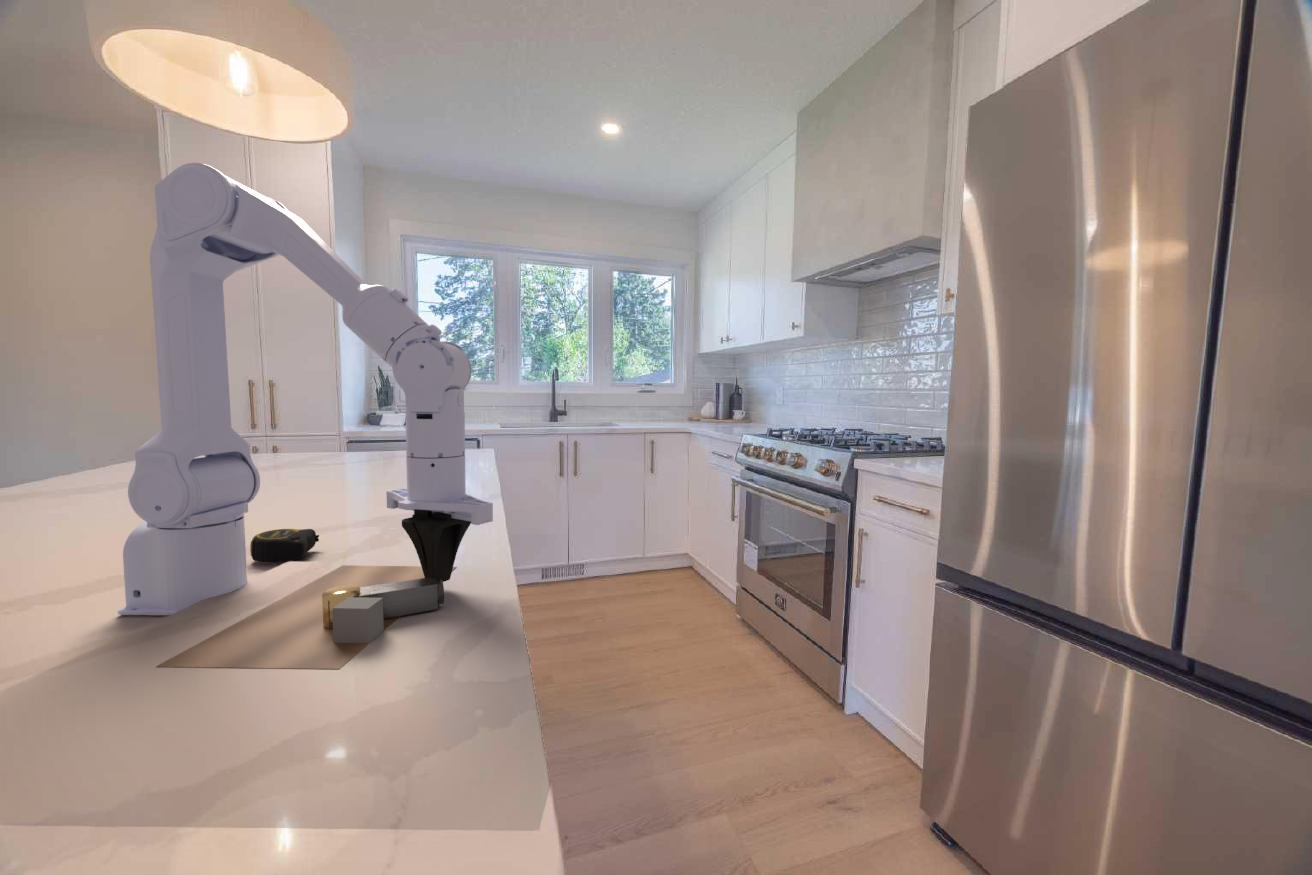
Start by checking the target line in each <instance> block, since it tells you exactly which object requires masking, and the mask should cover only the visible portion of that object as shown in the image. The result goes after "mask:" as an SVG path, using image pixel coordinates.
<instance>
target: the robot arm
mask: <svg viewBox="0 0 1312 875" xmlns="http://www.w3.org/2000/svg"><path fill="white" fill-rule="evenodd" d="M154 198H155V211H156V224H157V225H156V226H157V227H156V229H155V232H154V236H153V238H152V239H153V240H152V243H151V246H150V251H149V265H150V277H151V278H150V280H151V292H152V305H153V306H152V308H153V322H154V334H155V349H156V350H155V351H156V362H157V363H156V365H157V380H158V394H159V395H158V396H159V406H160V407H159V409H160V423H161V429H160V431H158V432H157V433H156V434H155V435H154V436H152V437H151V438H150V439H149V440H147V441H146V442H145V443H144V444H142V445H141V446H140V447H139V448H138V449H137V450H136V451H135V452H134V460H135V466H134V471H133V475H131V476H132V477H131V478H130V480H129V483H128V486H127V488H128V489H127V496H128V502H129V504H130V506H131V508H132V510H133V511H134V513H135V514H136V515H137V516H138V517H139V518H140V519H142V520H143V521H144V523H141V524H139V525H138V526H137V527H135V528H134V529H133V530H131V532H130V534H129V535H128V536H127V538H126V540H125V543H124V545H123V550H122V563H123V578H124V579H123V580H124V595H125V596H124V598H125V606H124V607H121V608H119V609H118V610H117V615H119V616H121V615H122V616H171V615H173V614H176V613H177V612H180V611H183V610H185V609H187V608H189V607H191V606H193V605H196V604H198V603H199V602H202V601H204V600H206V599H211V598H214V597H219V596H222V595H226V594H229V593H231V592H235V591H237V590H239V589H241V588H243V587H245V586H246V585H247V583H248V576H247V575H248V574H247V573H248V571H247V551H246V550H247V549H246V528H245V526H246V525H245V514H247V513H248V512H249V503H251V502H252V501H253V500H254V499H255V498H256V496H257V495H258V492H259V491H260V486H261V478H260V477H261V476H260V472H259V470H258V469H257V468H258V467H256V465H255V463H254V461H253V459H252V455H251V448H250V447H251V446H250V443H249V442H248V441H247V440H246V439H245V438H244V437H242V435H240V434H239V433H238V432H237V431H236V430H234V428H233V427H232V418H231V417H232V416H231V414H232V413H231V399H230V398H231V396H230V384H229V382H230V381H229V380H230V379H229V363H228V349H227V329H226V315H225V312H226V311H225V298H224V296H225V295H224V281H225V280H226V279H228V278H230V276H232V275H233V274H234V273H235V272H238V271H241V270H243V269H246V268H249V267H252V266H254V265H257V264H259V263H263V262H265V261H268V260H270V259H273V258H276V257H277V256H282V257H284V259H285V260H287V261H288V262H290V263H291V264H292V265H293V266H294V267H295V268H297V269H298V270H299V272H301V273H302V274H304V275H305V276H306V277H307V278H309V280H311V281H312V282H313V283H314V284H316V285H317V286H318V287H320V289H322V290H323V291H324V292H326V294H328V296H330V297H331V298H333V299H334V300H335V301H336V302H337V303H338V304H339V305H341V307H342V314H341V316H342V322H343V324H344V325H345V326H346V327H347V328H348V329H349V330H350V331H351V332H352V333H353V334H355V335H356V337H358V338H359V339H360V340H361V341H362V342H363V343H364V344H366V346H367V347H369V348H370V349H371V350H372V351H373V352H374V353H375V354H376V355H378V357H380V358H381V359H382V360H383V361H384V362H385V363H386V364H387V365H388V366H389V367H391V370H392V375H393V377H394V380H395V381H396V383H397V384H398V386H399V387H400V388H401V390H402V391H403V393H404V397H405V398H404V399H405V443H406V444H405V446H406V450H405V451H406V452H405V453H406V454H405V455H406V456H405V457H406V458H405V459H406V488H398V489H389V490H386V508H387V509H390V510H393V509H394V510H395V509H400V510H405V511H413V514H412V516H410V517H407V518H403V519H402V520H401V527H402V528H403V529H404V531H405V532H406V534H407V535H408V537H409V538H410V541H411V542H412V545H413V547H414V549H415V551H416V554H417V557H418V559H419V562H420V566H422V570H423V573H424V577H425V578H428V577H435V580H440V579H442V581H443V583H444V582H447V581H450V580H451V576H452V573H453V571H452V569H453V567H454V564H455V560H456V556H457V554H458V550H459V547H460V545H461V542H462V540H463V538H464V537H465V534H466V533H467V531H468V528H469V527H470V526H471V524H472V525H474V526H475V525H476V526H479V525H484V524H488V523H491V522H493V521H494V519H493V518H494V514H493V512H494V511H493V508H494V507H493V506H494V505H493V504H494V503H493V502H489V501H485V500H482V499H479V498H477V497H474V496H472V495H469V494H467V493H466V428H465V426H466V424H465V423H466V420H465V419H466V418H465V417H466V415H465V414H466V413H465V388H466V387H467V386H468V385H469V383H470V381H471V377H472V373H473V372H472V371H473V369H472V365H471V360H470V359H469V357H468V356H467V354H466V353H465V352H464V350H463V348H462V347H461V346H460V345H459V344H456V343H454V342H450V341H442V340H441V335H442V334H443V333H442V330H441V329H440V328H439V327H438V326H437V325H435V324H428V323H427V322H426V321H424V319H422V317H421V316H419V315H418V314H417V313H416V312H415V311H414V310H413V309H411V307H409V305H407V303H408V302H409V300H410V299H409V297H407V295H406V294H405V293H403V292H402V291H401V290H398V289H396V288H392V290H391V289H390V288H389V287H387V286H385V285H383V284H381V285H380V284H372V285H371V284H367V283H366V282H365V281H364V280H363V279H362V278H361V277H360V276H359V275H358V274H357V273H356V272H355V270H353V269H352V268H351V267H350V266H349V265H348V264H347V263H346V262H345V261H344V260H343V259H342V258H341V257H340V256H339V255H338V254H337V253H336V251H334V250H333V248H332V247H330V246H329V245H328V244H327V243H326V242H325V241H324V239H322V238H321V237H320V236H319V235H318V234H317V233H316V232H315V231H314V230H313V229H312V228H311V227H310V226H309V225H308V224H307V222H305V221H304V220H303V218H301V217H299V216H297V215H296V214H294V213H293V212H291V211H290V210H288V208H287V207H286V206H285V205H284V204H283V203H281V202H280V201H278V200H276V199H274V198H271V197H267V196H265V195H263V194H261V193H259V192H257V191H256V190H254V189H251V188H250V187H248V186H246V185H244V184H242V183H240V182H238V181H236V180H234V179H232V178H230V177H229V176H227V175H224V173H222V172H221V171H220V170H218V169H216V168H214V167H213V166H211V165H209V164H205V163H202V162H189V163H185V164H182V165H180V166H178V167H176V168H174V170H172V171H171V172H170V173H169V174H167V175H166V176H165V177H164V178H162V179H161V180H160V181H159V182H157V183H156V184H155V185H154ZM201 456H204V457H201Z"/></svg>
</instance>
